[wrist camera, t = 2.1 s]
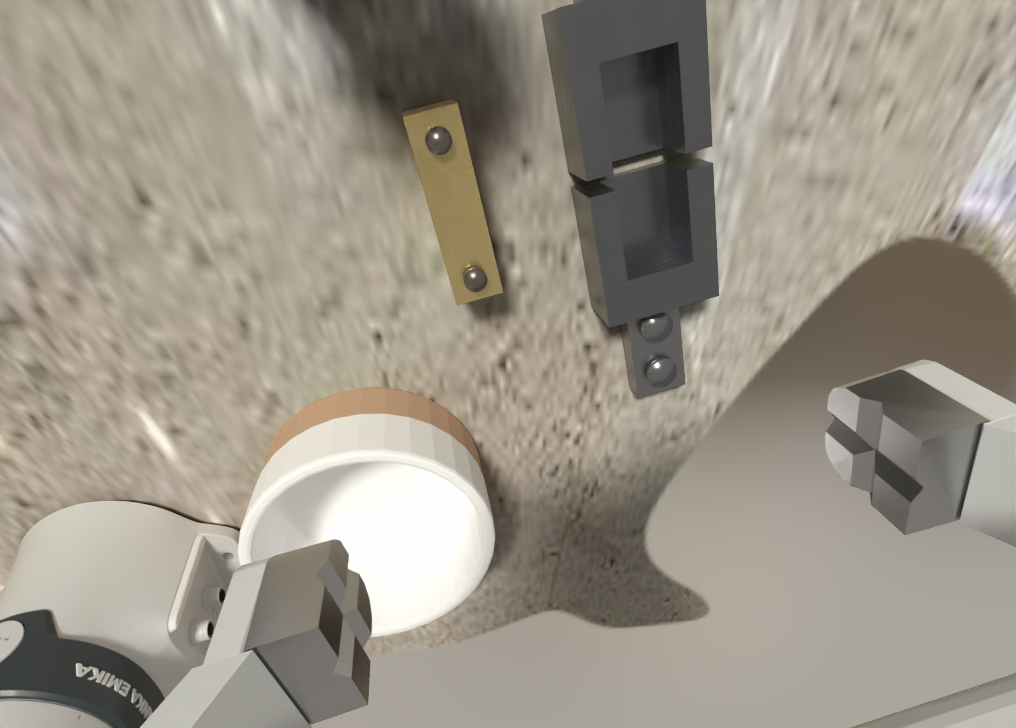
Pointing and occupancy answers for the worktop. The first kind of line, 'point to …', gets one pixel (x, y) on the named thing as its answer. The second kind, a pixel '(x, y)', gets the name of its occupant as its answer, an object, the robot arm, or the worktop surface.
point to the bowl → (379, 501)
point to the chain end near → (629, 79)
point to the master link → (453, 199)
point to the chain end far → (649, 259)
